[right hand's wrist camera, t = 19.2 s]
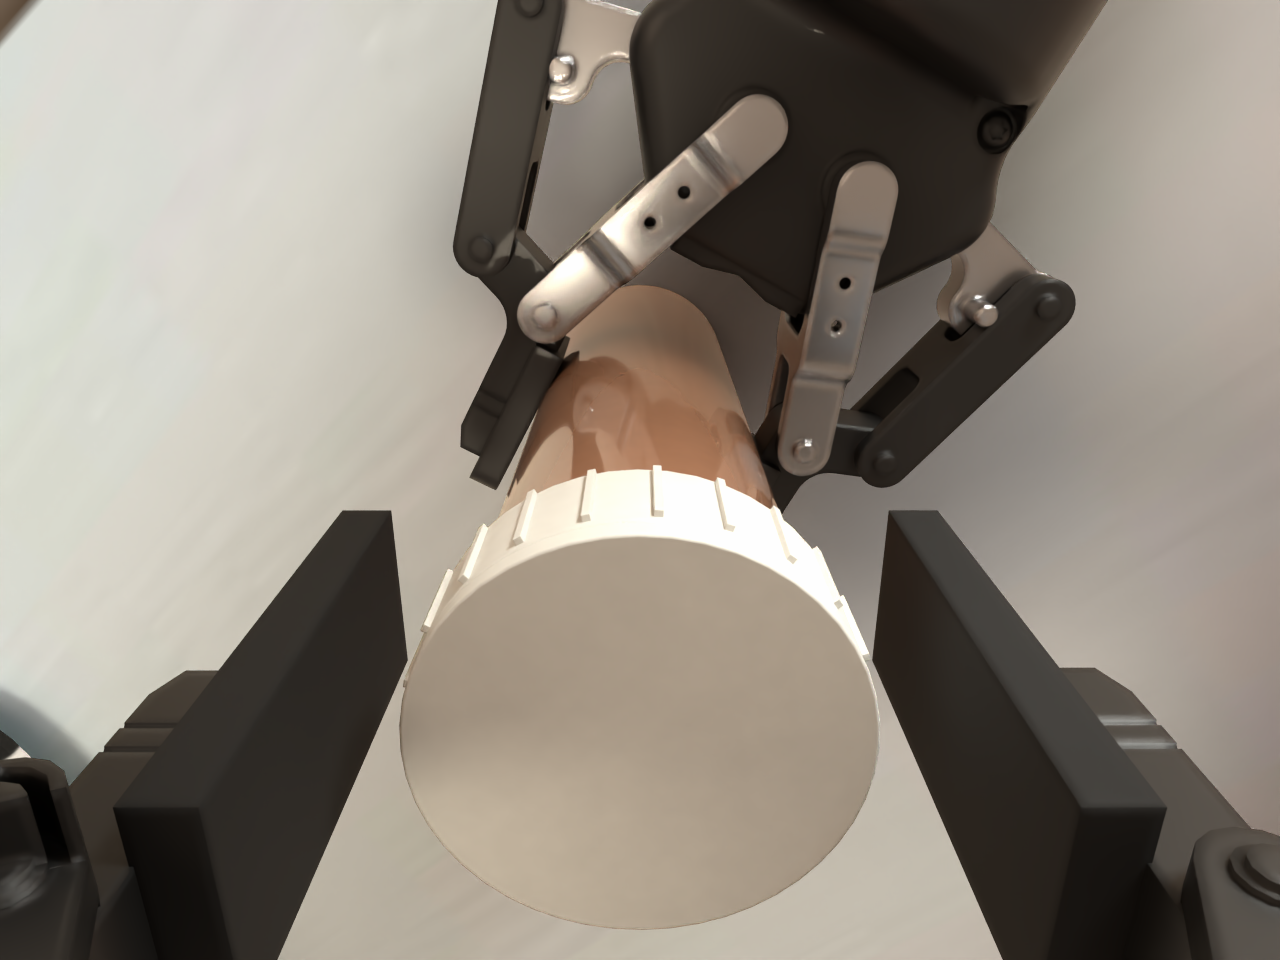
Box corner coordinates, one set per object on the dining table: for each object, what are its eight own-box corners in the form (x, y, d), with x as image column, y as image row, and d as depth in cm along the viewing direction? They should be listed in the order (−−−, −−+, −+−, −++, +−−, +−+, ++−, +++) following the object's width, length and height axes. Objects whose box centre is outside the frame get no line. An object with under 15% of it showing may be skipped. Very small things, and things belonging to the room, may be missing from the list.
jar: (665, 251, 26) (704, 453, 10) (751, 389, 28) (906, 757, 12) (527, 342, 27) (360, 659, 11) (617, 470, 29) (587, 914, 13)
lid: (937, 621, 12) (991, 710, 10) (675, 881, 14) (680, 999, 12) (594, 371, 11) (584, 423, 9) (352, 693, 13) (302, 792, 11)
